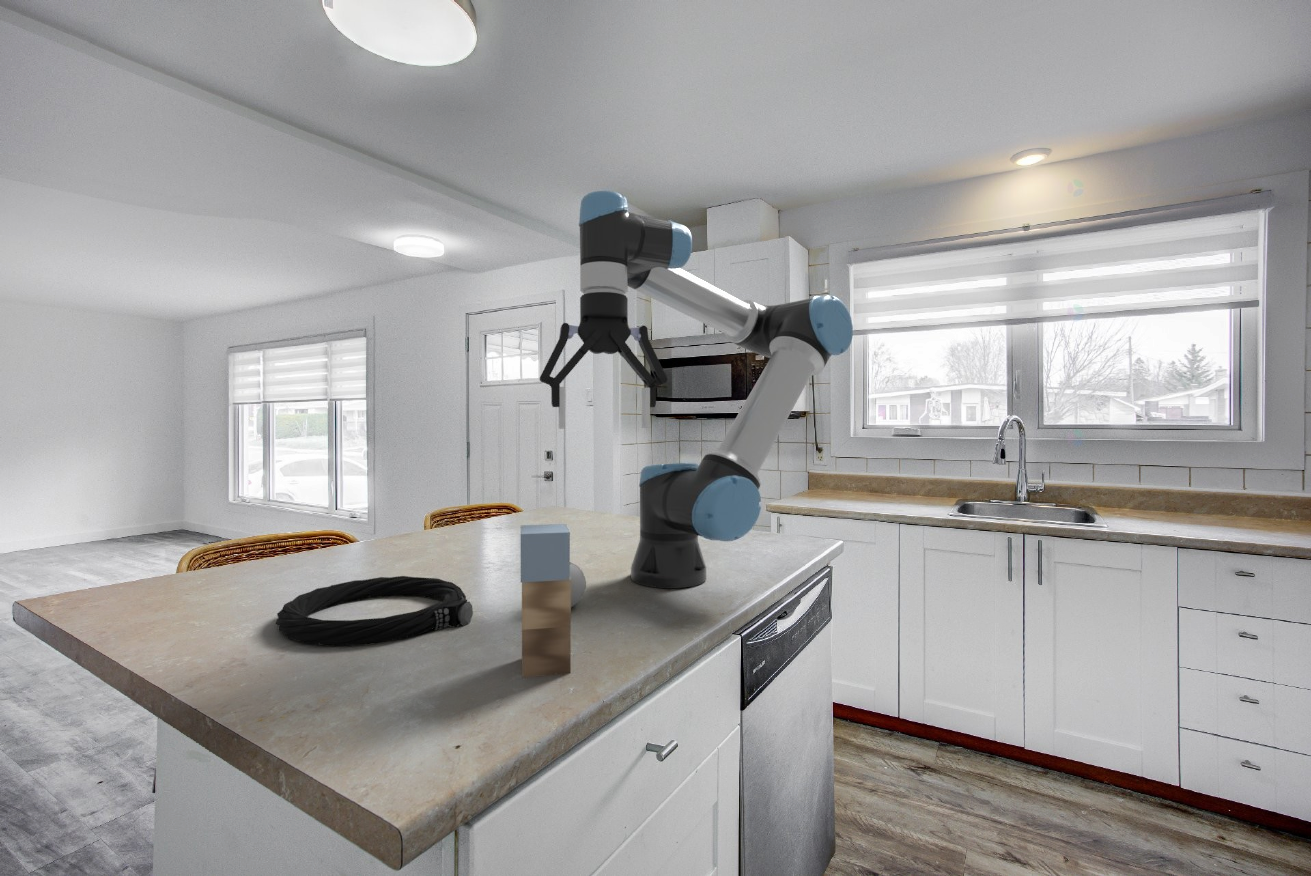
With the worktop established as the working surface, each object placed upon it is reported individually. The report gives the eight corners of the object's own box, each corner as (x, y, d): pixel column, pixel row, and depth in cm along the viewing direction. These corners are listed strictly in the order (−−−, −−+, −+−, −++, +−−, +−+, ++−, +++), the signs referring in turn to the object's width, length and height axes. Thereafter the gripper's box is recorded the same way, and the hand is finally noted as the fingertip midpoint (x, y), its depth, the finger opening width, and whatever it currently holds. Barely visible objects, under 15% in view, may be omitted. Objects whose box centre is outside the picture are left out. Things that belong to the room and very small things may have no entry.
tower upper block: (567, 611, 83) (567, 567, 82) (570, 626, 77) (570, 579, 76) (521, 614, 81) (521, 569, 81) (521, 629, 75) (522, 581, 75)
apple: (594, 605, 104) (595, 559, 104) (564, 617, 98) (564, 568, 98) (561, 597, 109) (562, 553, 108) (530, 608, 102) (530, 561, 102)
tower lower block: (566, 655, 83) (566, 611, 83) (570, 673, 77) (570, 626, 77) (521, 658, 81) (521, 614, 81) (522, 677, 76) (522, 629, 75)
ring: (359, 569, 114) (507, 579, 108) (359, 589, 114) (507, 600, 108) (228, 616, 87) (416, 632, 81) (228, 643, 87) (417, 661, 81)
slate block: (566, 568, 82) (566, 523, 82) (569, 579, 76) (569, 532, 76) (520, 570, 81) (520, 525, 81) (520, 582, 75) (520, 534, 75)
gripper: (673, 302, 103) (673, 427, 104) (523, 295, 97) (524, 428, 98) (685, 293, 96) (685, 428, 97) (524, 286, 90) (525, 429, 91)
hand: (604, 428), depth 98 cm, fingers open, 13 cm apart
